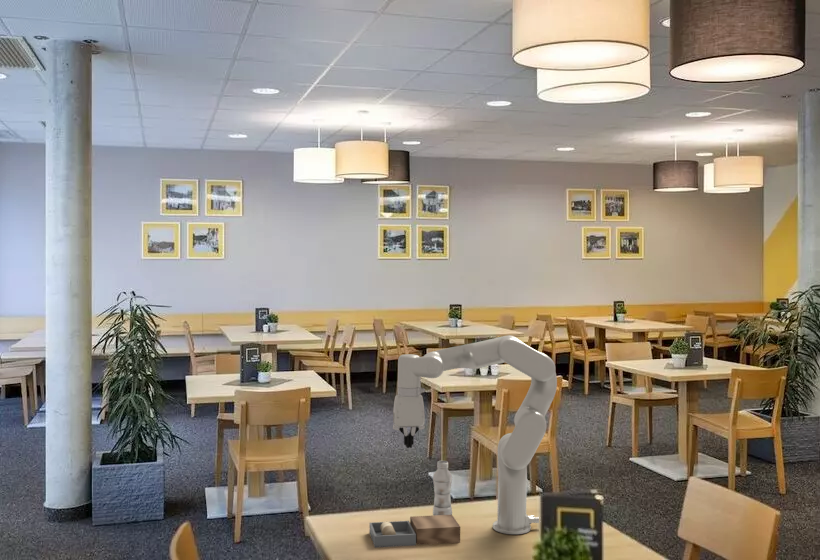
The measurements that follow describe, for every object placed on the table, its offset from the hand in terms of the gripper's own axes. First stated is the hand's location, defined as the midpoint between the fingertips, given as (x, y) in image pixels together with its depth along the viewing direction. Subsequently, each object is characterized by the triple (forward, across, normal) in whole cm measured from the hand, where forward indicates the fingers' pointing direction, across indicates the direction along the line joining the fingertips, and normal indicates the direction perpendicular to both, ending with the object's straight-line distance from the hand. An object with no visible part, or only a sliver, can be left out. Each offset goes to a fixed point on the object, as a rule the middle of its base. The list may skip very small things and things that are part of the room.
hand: (408, 446), depth 272 cm
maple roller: (+24, +6, +10) cm, 27 cm away
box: (+27, +7, +10) cm, 30 cm away
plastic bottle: (+27, -13, -6) cm, 31 cm away
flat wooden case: (+27, -7, +10) cm, 30 cm away
